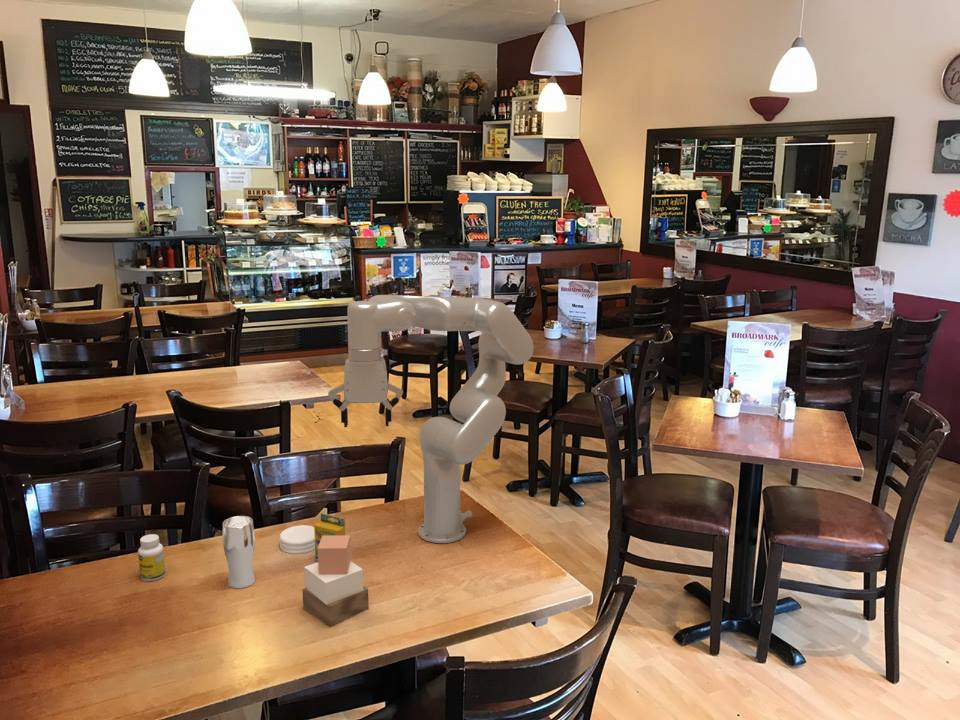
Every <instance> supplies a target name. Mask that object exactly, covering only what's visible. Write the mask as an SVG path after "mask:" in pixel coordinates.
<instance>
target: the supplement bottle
mask: <svg viewBox="0 0 960 720" xmlns="http://www.w3.org/2000/svg"><path fill="white" fill-rule="evenodd" d="M139 540H140V541H139V542H140V547H138V550H137V554H138V555H137V557H138V565H139V566H138V567H139V575H140V578H141V580H142V581H144V582H156V581H158V579H159V580H160V578H161V579H163V577H165V575H166V565H165V555H164V554H165V553H164V546H163V544H162V543H160V536H159V535H158V534H154V533H152V534H146V535H143V536H142V537H141V538H140V539H139ZM155 580H156V581H155Z"/></svg>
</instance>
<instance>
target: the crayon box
mask: <svg viewBox="0 0 960 720" xmlns="http://www.w3.org/2000/svg"><path fill="white" fill-rule="evenodd" d="M330 519H334V520H335V521H332V520H330ZM313 527H314V533H315V550H314V553H315V561H316V562H318V546H319V543H320V541H321V538H322V536H333V535H346V518H343V517H338V516H333V515H329V514H324V513H320V520H319V521H317V523H315V524H313Z"/></svg>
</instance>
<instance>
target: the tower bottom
mask: <svg viewBox="0 0 960 720" xmlns="http://www.w3.org/2000/svg"><path fill="white" fill-rule="evenodd" d="M369 605H370V604H369V588H367V587H365V586H364V585H363V591H361V592H358V593H356V594H353V595H351V596H348V597H346V598H343V599H341V600H338V601H336V602H333V603H331V604H328V605H326V604H325V603H323V602H322V601H321V600H320V599H318V598H317V597H316V596H315V595H313V594H312V593H311V592H310V591H308V590H307V589H306V588H305V587H304V588H302V607H303V610H304V611H306V612H307V613H308V614H310V615H312V616H313V617H315V618H316V619H317V620H319V621H320V622H322V623H323V624H325V625H327V626H328V627H329V628H331V627H335V626H336V625H338V624H340V623H342V622H344V621H346V620H348V619H350V618H352V617H355V616H357V615H359V614H361V613H363V612H366V611H367V610H369V609H370V608H369Z"/></svg>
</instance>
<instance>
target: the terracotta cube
mask: <svg viewBox="0 0 960 720" xmlns="http://www.w3.org/2000/svg"><path fill="white" fill-rule="evenodd" d="M351 546H352V545H351V535H348V534H345V535H333V536H322V538H321V541H320V543H319V546H318V561H317V562H318V569H319V575H329V574H348V570H349V566H350V563H351V562H352V549H351Z"/></svg>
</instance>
